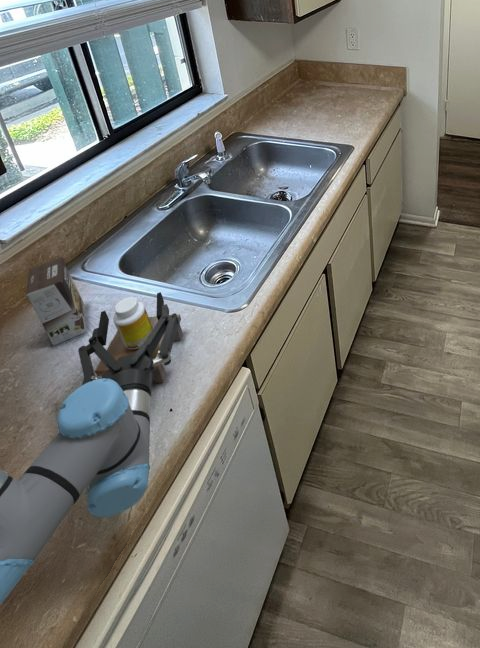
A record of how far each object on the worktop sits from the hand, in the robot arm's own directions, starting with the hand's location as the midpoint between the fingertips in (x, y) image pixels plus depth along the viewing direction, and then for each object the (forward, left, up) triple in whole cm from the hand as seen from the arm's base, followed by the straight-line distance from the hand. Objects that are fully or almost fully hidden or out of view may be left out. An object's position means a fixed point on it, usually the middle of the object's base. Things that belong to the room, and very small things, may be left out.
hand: (133, 306), depth 93 cm
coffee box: (-20, +7, -12) cm, 25 cm away
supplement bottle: (+1, -3, -6) cm, 7 cm away
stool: (+2, -4, -12) cm, 12 cm away
